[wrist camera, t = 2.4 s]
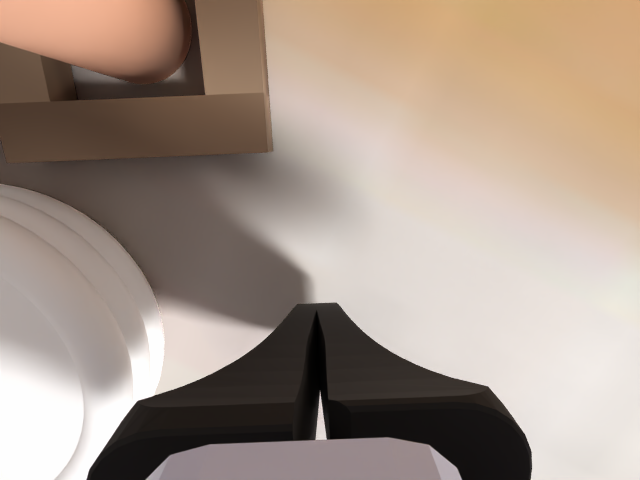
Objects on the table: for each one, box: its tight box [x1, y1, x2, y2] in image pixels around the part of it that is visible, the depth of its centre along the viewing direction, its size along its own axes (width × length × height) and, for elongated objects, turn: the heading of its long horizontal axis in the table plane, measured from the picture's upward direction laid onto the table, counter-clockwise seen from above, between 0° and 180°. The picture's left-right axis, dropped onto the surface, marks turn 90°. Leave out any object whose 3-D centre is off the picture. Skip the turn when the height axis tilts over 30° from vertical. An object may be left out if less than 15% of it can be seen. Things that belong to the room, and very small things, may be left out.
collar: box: [0, 0, 273, 163], centre depth 10 cm, size 7×7×1 cm
